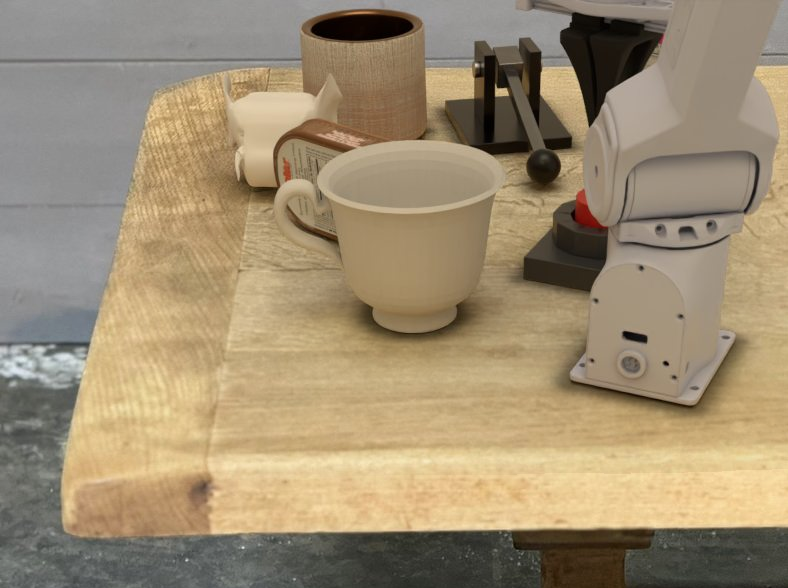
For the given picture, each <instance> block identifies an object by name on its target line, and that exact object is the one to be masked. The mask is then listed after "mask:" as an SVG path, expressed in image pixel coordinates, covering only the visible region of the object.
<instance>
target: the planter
mask: <svg viewBox="0 0 788 588" xmlns="http://www.w3.org/2000/svg"><path fill="white" fill-rule="evenodd" d="M299 40H300V52H301V53H300V56H301V70H302V90H303V91H302V92H303V93H309V94H311V95H313V96H314V97H317V95H318V94H319V92H320V91H321V89H322V88H323V86H324V85H325V83H326V81H327V77H328V74H329V73H331V74H332V76H333V78H334V80H335V82H336V84H337V86H338V88H339V90H340V92H341V94H342V96H343V99H342V100H341V101H340V103H339V104H338V106H337V123H338V124H341V125H344V126H347V127H350V128H354V129H357V130H360V131H364V132H367V133H370V134H374V135H377V136H380V137H383V138H387V139H390V140H393V141H404V140H419V138H420V137H421V136H422V135H424V133H425V132H426V130H427V125H428V112H427V111H428V107H427V106H428V104H427V77H426V73H427V72H426V41H425V40H426V35H425V22H424V21H423V19H421V17H418V16H417V15H414V14H412V13H410V12H409V13H408V12H406V11H401V10H395V9H386V8H351V9H342V10H337V11H330V12H326V13H322V14H319V15H316V16H313V17H311V18H308V19H307V20H305V21H304V22H303V23H302V24H301V25H300V27H299Z"/></svg>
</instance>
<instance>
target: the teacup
mask: <svg viewBox="0 0 788 588" xmlns="http://www.w3.org/2000/svg"><path fill="white" fill-rule="evenodd" d="M506 180H507V172H506V169H505V167H504V166H503V165H502V163H501V162H500V161H499V160H498V159H497V158H495V157H494V156H493V155H492V154H488V153H486V152H484V151H482V150H479V149H476V148H473V147H470V146H466V145H464V144H461V143H455V142H449V141H441V140H430V139H416V140H404V141H392V142H384V143H378V144H373V145H368V146H364V147H360V148H357V149H353V150H351V151H348V152H345V153H343V154H341V155H339V156H337V157H335V158H333V159H332V160H330V161H329V162H328V163H327V164H326V165H325V166H324V167H323V168H322V170H321V171H320V172H319V174H318V177H317V184H318V187H319V189H320V190H321V191H322V193H323V194H324V195H325V196H324V197H323V199H322V200H320V199H319V196H318V193H317V190H316V188H315V186H314V185H313V184H312V183H311V182H310V181H307V180H304V179H292V180H289V181H287V182H285V183H284V184H283V185H282V186H281V187H280V188H279V190H278V189H277V191H276V194H275V196H274V200H273V217H274V218H273V219H274V222H275V225H276V227H277V228H278V230H279V232H280V233H281V235H282V236H284V237H285V239H286V240H287V241H289V242H290V243H292V244H293V245H294V246H296V247H299V248H301V249H304V250H307V251H311V252H314V253H317V254H318V253H319V254H321V255H323V256H326V257H327V258H328V259H330V260H331V261H332V262H334V264H336V266H338V268H339V269H340V270H341V271H342V273H344V275H345V277H346V280H347V282H348V284H349V287H350V288H351V290H352V292H353V293H354V294H355V295H356V297H358V298H359V300H361V301H362V302H363V303H365V304H367V305H368V306H370V307H372V318H373V320H374V321H375V322H376V323H377V324H378V325H379V326H381V328H385V329H387V330H390V331H393V332H397V333H404V334H422V333H429V332H430V333H431V332H434V331H437V330H440V329H443V328H444V327H446V326H449V325H450V324H452V323H453V322H454V320H455V319H456V318H457V315H458V309H457V308H458V307H457V305H459V304H460V303H462V302H463V301H465V300H466V299H468V297H469V296H471V294H472V293H473V292H474V291H475V289H476V288H477V286H478V284H479V282H480V279H481V276H482V273H483V269H484V264H485V259H486V254H487V247H488V240H489V239H488V238H489V231H490V225H491V218H492V217H491V216H492V211H493V205H494V200H495V198H496V195H497V193H498V192H499V191H500V190H501V189H502V187H503V186H504V185H505V183H506ZM298 196H302V197H306V198H308V199H309V200H310V201H311V203H312V206H313V209H314V211H315V213H316V214H317V215H321V214H323V213H324V212H326V211H332V212H333V216H334V220H335V225H336V231H337V236H338V241H337V242H338V246H339V250H338V249H337V248H336V247H335V246H334V245H333V244H332V243H330V242H329V241H328V240H326V239H324V238H321V237H319V236H316V235H313V234H311V233H308V232H305V231H303V230H301V229H300V228H298V227H297V226H296V225H295V223H293V222H292V221H291V219H290V218H289V215H288V213H287V208H286V207H287V203H288V202H289V200H291V199H292V198H294V197H298Z"/></svg>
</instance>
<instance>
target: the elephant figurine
mask: <svg viewBox="0 0 788 588" xmlns="http://www.w3.org/2000/svg"><path fill="white" fill-rule="evenodd" d="M230 75H231V74H230V73H229V72H228V71H224V73H223V75H222V79H221V80H222V91H223V96H224V106H225V107H224V108H225V111H226V119H227V126H228V127H227V128H228V134H227V135H228V138H227V145H228V147H229V148H231V149H234V148H236V147H237V146H238V148H237V150H236V152H235V154H234V158H235V159H234V163H235V165H234V168H235V172H236V177H237V181H240V166H241V169H242V171H243V174H244V177H245V180H246V182H247V184H248V185H249V186H250V187H253V188H263V187H264V188H265V187H266V188H277V183H276V179H275V174H274V166H273V150H274V147H275V145H276V143H277V141H278V140H279V138H280V137H281V136H282V135H284V134H285V133H286V132H288V131H290V130H291V129H293V128H296V127H298V126H300V125H301V124H302V123H303V122H305V121H307V120H309V119H314V118H321V119H325V120H328V121H332V122H335V123H337V106H338V104H339V103H340V101H341V100H342V99H343V96H342V94H341V92H340V90H339V88H338V86H337V84H336V82H335V80H334V78H333V76H332V74H331V73H329V74H328V77H327V81H326V83H325V85H324V86H323V88H322V89H321V91H320V92H319V94H318V95H317V97H314V96H313V95H311V94H309V93H303V91H301V92H299V91H298V92H297V91H251V92H250V93H248V94H247V95H246V96H244V97H243V96H242V97H240V98H238V99H237V100H235V99H234V98H232V97H231V92H232V91H231V90H232V79H231V76H230Z"/></svg>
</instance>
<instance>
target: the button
mask: <svg viewBox="0 0 788 588" xmlns="http://www.w3.org/2000/svg"><path fill="white" fill-rule="evenodd" d="M575 200H576V206H575V221H576V222H577V223H579V224H581V225H583V226H588V227H594V228H600V229H606V228H609V226H607V227H605V226H602V225H601V224H600V223H599V222H598V220H597V219H596V218H595V217H594V216H593V215H592V214H591V212H590V210H589V207H588V204H587V200H586V196H585V190H584V188H583V189H581V190H580V191H578V192H577V193H576V195H575Z"/></svg>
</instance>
